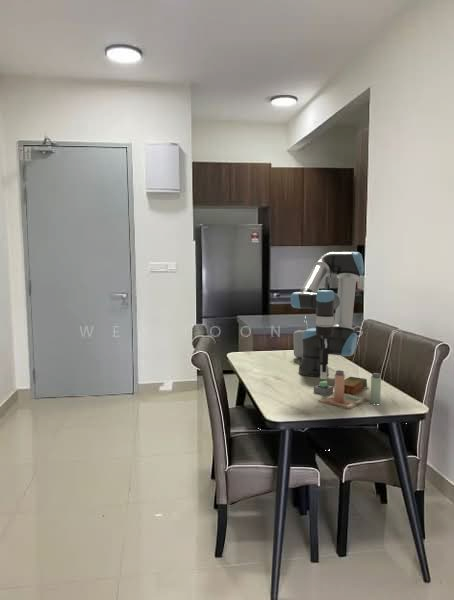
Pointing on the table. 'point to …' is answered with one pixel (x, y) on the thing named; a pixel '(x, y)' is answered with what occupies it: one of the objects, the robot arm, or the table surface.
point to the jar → (298, 341)
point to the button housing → (323, 390)
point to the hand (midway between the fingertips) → (323, 378)
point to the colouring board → (348, 402)
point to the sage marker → (375, 388)
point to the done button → (323, 384)
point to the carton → (354, 385)
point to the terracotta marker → (339, 386)
